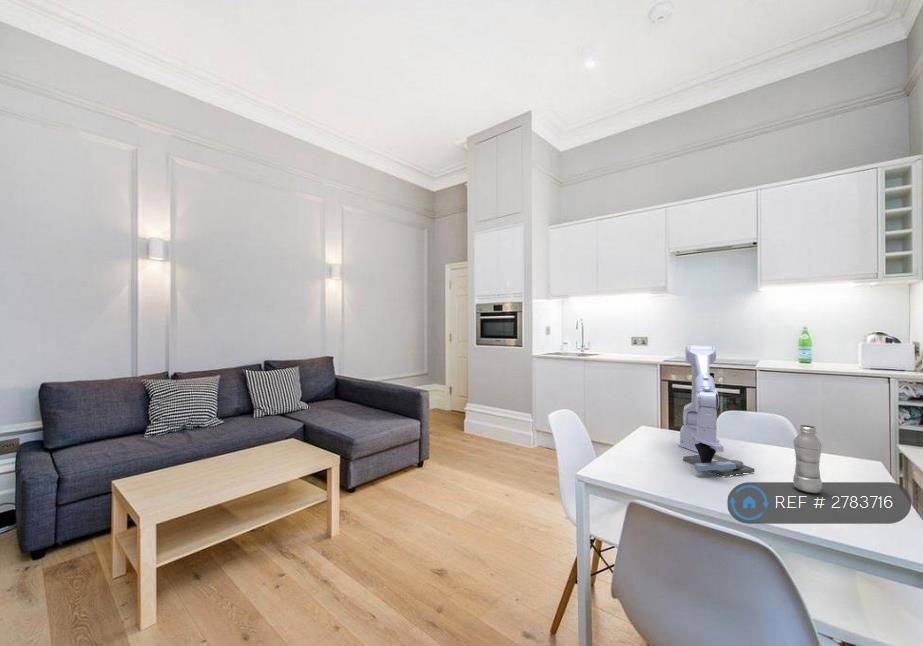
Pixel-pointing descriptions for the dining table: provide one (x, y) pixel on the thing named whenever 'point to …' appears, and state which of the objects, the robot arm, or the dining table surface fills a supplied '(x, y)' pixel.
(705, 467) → the cable arm
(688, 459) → the chassis
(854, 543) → the dining table surface
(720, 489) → the dining table surface
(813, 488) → the plastic bottle
